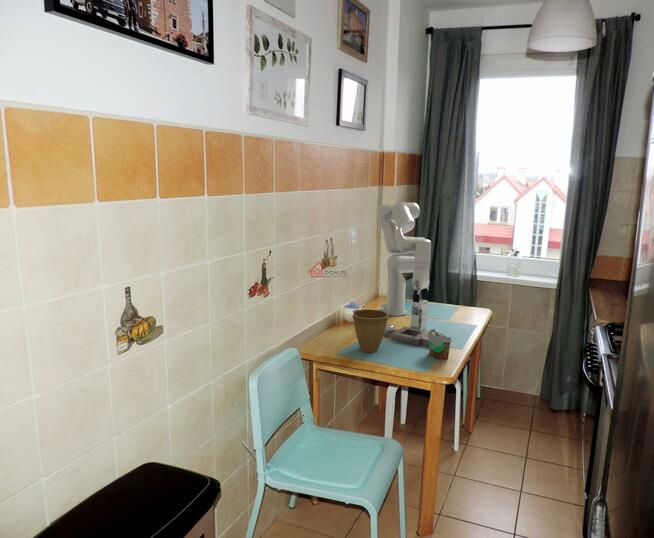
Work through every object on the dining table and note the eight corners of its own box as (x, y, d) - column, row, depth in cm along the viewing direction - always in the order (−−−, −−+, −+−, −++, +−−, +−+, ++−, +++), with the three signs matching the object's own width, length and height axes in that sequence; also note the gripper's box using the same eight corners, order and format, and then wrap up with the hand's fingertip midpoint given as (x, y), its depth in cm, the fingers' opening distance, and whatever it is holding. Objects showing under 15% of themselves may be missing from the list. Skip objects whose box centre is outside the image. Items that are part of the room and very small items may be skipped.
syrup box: (409, 328, 253) (411, 300, 250) (416, 326, 257) (418, 298, 254) (419, 331, 249) (421, 302, 246) (426, 328, 253) (428, 300, 250)
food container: (420, 352, 221) (421, 330, 219) (432, 350, 223) (434, 328, 221) (437, 362, 210) (439, 339, 208) (450, 360, 212) (451, 337, 210)
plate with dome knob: (377, 336, 240) (377, 328, 239) (390, 329, 251) (391, 321, 250) (417, 346, 229) (418, 337, 228) (430, 338, 239) (431, 329, 239)
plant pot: (393, 350, 223) (395, 314, 220) (370, 358, 213) (372, 320, 210) (367, 341, 233) (369, 306, 230) (344, 348, 223) (345, 312, 220)
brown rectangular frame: (390, 339, 236) (391, 331, 235) (404, 332, 247) (404, 324, 246) (433, 349, 224) (433, 340, 224) (445, 341, 235) (446, 333, 235)
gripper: (422, 262, 256) (420, 296, 259) (406, 266, 242) (405, 302, 245) (436, 263, 251) (435, 298, 254) (421, 268, 237) (419, 304, 240)
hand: (420, 300), depth 249 cm, fingers open, 9 cm apart
